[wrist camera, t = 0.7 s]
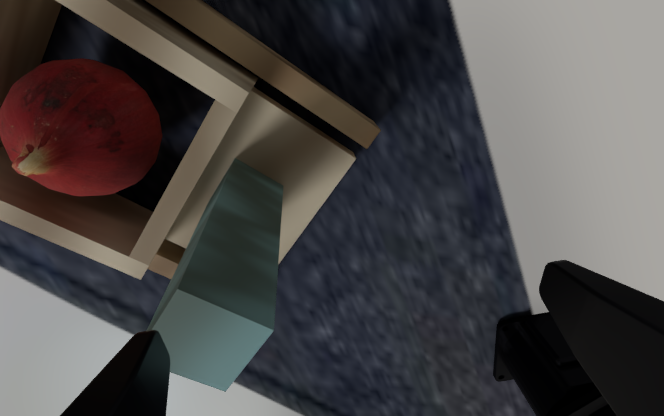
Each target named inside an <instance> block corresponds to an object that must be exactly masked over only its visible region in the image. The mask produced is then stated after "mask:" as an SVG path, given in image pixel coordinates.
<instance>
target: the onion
mask: <svg viewBox="0 0 664 416" xmlns="http://www.w3.org/2000/svg"><path fill="white" fill-rule="evenodd" d="M0 137H1V141H2V143H3V145H4V147H5V149H6V152H7V154H8V156H9V158H10V160H11V161H12V162H13V164H12V167H13V169H14V170H15V171H16V172H17V173H19V174H21V175H24V176H27V177H29V178H31V179H33V180H34V181H36V182H38V183H40V184H41V185H43V186H45V187H47V188H48V189H51V190H55V191H58V192H62V193H66V194H69V195H73V196H99V195H109V194H114V193H116V192H118V191H120V190H123V189H125V188H127V187H129V186H131V185H134V184H136V183H137V182H138V181H140V180H141V179H143V177H144V176H145V175H146V173H147V172H148V171H149V170H150V168H151V167H152V166H153V164H154V163H155V162H156V159H157V156H158V152H159V148H160V144H161V140H162V130H161V124H160V118H159V114H158V112H157V110H156V109H155V107H154V105H153V103H152V101H151V100H150V98H149V96H148V94H147V93H146V91H145V90H144V89H143V88H142V87H140V86H139V85H138V84H137V83H136V82H135V81H134V80H133V79H131V78H130V77H129V76H128V75H127V74H126V73H125V72H124V71H122V70H119V69H117V68H114V67H111V66H109V65H106V64H103V63H100V62H98V61H95V60H89V59H68V60H52V61H49V62H46V63H43V64H40V65H39V66H37V67H36V68H35V69H33V70H32V71H30V72H29V73H27V74H26V75H24V76H23V77H21V78H20V79H19V80H17V81H16V82H15V83H14V84H13V85H12V87H11V88H10V90H9V92H8V94H7V96H6V98H5V100H4V102H3V104H2V106H1V108H0Z"/></svg>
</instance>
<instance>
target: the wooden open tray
mask: <svg viewBox="0 0 664 416" xmlns="http://www.w3.org/2000/svg"><path fill="white" fill-rule="evenodd" d="M62 5H64V6H65V7H67V8H69V9H70V10H72V11H73V12H75V13H77V14H78V15H80V16H81V17H83V18H85V19H86V20H88V21H89V22H91V23H93V24H94V25H96V26H98V27H99V28H101V29H102V30H104V31H106V32H107V33H109V34H110V35H112V36H114V37H115V38H117V39H118V40H120V41H122V42H123V43H125V44H126V45H128V46H130V47H131V48H133V49H135V50H136V51H138V52H139V53H141V54H143V55H144V56H146V57H147V58H149V59H151V60H152V61H154V62H155V63H157V64H159V65H160V66H162V67H163V68H165V69H167V70H168V71H170V72H172V73H173V74H175V75H176V76H178V77H180V78H181V79H183V80H184V81H186V82H188V83H189V84H191V85H192V86H194V87H196V88H197V89H199V90H200V91H202V92H204V93H205V94H207V95H209V96H210V97H212V98H213V99H215V101H214V103H213V105H212V107H211V108H210V110H209V112H208V114H207V116H206V117H205V119H204V121H203V123H202V125H201V127H200V128H199V130H198V132H197V134H196V136H195V137H194V139H193V141H192V143H191V145H190V147H189V148H188V150H187V152H186V154H185V156H184V157H183V159H182V161H181V163H180V165H179V167H178V168H177V170H176V172H175V174H174V176H173V177H172V179H171V181H170V183H169V185H168V187H167V188H166V190H165V192H164V194H163V196H162V197H161V199H160V201H159V203H158V205H157V207H156V208H155V210H154V212H152V211H150V210H148V209H146V208H144V207H142V206H140V205H138V204H136V203H134V202H132V201H130V200H128V199H126V198H124V197H122V196H120V195H118V194H116V193H114V194H109V195H99V196H73V195H69V194H66V193H62V192H58V191H55V190H51V189H48V188H47V187H45V186H43V185H41V184H40V183H38V182H36V181H34V180H33V179H31V178H29V177H27V176H24V175H21V174H19V173H17V172H16V171H15V170H14V169H13V167H12V164H13V162H12V161H11V160H10V158H9V156H8V154H7V152H6V149H5V147H4V145H3V143H2V141H1V137H0V220H1V221H4V222H6V223H8V224H11V225H13V226H16V227H18V228H20V229H23V230H25V231H27V232H30V233H32V234H34V235H37V236H39V237H41V238H44V239H46V240H48V241H51V242H53V243H56V244H58V245H60V246H63V247H65V248H67V249H70V250H72V251H74V252H77V253H79V254H81V255H84V256H86V257H88V258H91V259H93V260H96V261H98V262H100V263H103V264H105V265H107V266H110V267H112V268H114V269H117V270H119V271H121V272H124V273H126V274H128V275H131V276H133V277H135V278H138V279H140V280H141V278H142V277H143V275H144V273H145V272H146V270H147V268H148V267H149V265H150V263H151V262H152V260H153V258H154V257H155V255H156V253H157V251H158V250H159V248H160V246H161V245H162V243H163V241H164V240H165V239H167V240H169V241H171V242H173V243H175V244H177V245H179V246H182V247H184V248H186V250H185V252H184V254H183V256H182V258H181V260H180V262H179V264H178V266H177V269H176V271H175V273H174V275H173V277H172V279H171V281H170V283H169V285H168V287H167V289H166V291H165V294H164V296H163V298H162V300H161V302H160V304H159V306H158V308H157V310H156V312H155V314H154V317H153V319H152V321H151V323H150V325H149V327H148V329H147V331H149V330H157V331H158V332H159V333H160V335H161V337H162V339H163V341H164V344H165V346H166V348H167V350H168V352H169V355H170V372H171V373H174V374H177V375H180V376H183V377H186V378H188V379H191V380H194V381H197V382H200V383H203V384H205V385H208V386H211V387H214V388H217V389H219V390H222V391H226V390H227V389H228V388H229V386H230V385H231V384H232V383H233V381H234V380H235V379H236V378H237V376H238V375H239V374H240V373H241V371H242V370H243V369H244V368H245V366H246V365H247V364H248V362H249V361H250V360H251V359H252V357H253V356H254V355H255V354H256V352H257V351H258V350H259V349H260V347H261V346H262V345H263V344H264V342H265V341H266V340H267V338H268V337H269V336H270V335H271V333H272V332H273V331H274V321H275V306H276V291H277V276H278V265H279V263H280V262H281V260H282V259H283V258H284V256H285V255H286V254H287V252H288V251H289V250H290V248H291V247H292V245H293V244H294V243H295V241H296V240H297V239H298V237H299V236H300V235H301V233H302V232H303V231H304V229H305V228H306V226H307V225H308V224H309V222H310V221H311V220H312V218H313V217H314V216H315V214H316V213H317V211H318V210H319V209H320V207H321V206H322V205H323V203H324V202H325V201H326V199H327V198H328V196H329V195H330V194H331V192H332V191H333V190H334V188H335V187H336V186H337V184H338V183H339V182H340V180H341V179H342V177H343V176H344V175H345V173H346V172H347V171H348V169H349V168H350V167H351V165H352V164H353V162H354V161H355V160H356V157H355V155H354V153H353V152H352V151H351V150H349V149H348V148H346V147H345V146H343V145H342V144H340V143H339V142H337V141H335V140H334V139H332V138H331V137H329V136H328V135H326V134H325V133H323V132H322V131H320V130H319V129H317V128H316V127H314V126H313V125H311V124H310V123H308V122H307V121H305V120H304V119H302V118H300V117H299V116H297V115H296V114H294V113H293V112H291V111H290V110H288V109H287V108H285V107H284V106H282V105H281V104H279V103H278V102H276V101H275V100H273V99H272V98H270V97H269V96H267V95H265V94H264V93H262V92H261V91H259V90H258V89H256V88H255V87H254V85H255V83H256V82H257V80H258V78H257V77H256V76H254V75H253V74H251V73H250V72H248V71H247V70H245V69H244V68H242V67H241V66H239V65H238V64H236V63H235V62H233V61H232V60H230V59H229V58H227V57H226V56H224V55H223V54H221V53H220V52H218V51H217V50H215V49H214V48H212V47H211V46H209V45H208V44H206V43H205V42H203V41H202V40H200V39H199V38H197V37H196V36H194V35H193V34H191V33H190V32H188V31H187V30H185V29H184V28H182V27H181V26H179V25H178V24H176V23H175V22H173V21H172V20H170V19H169V18H167V17H166V16H164V15H163V14H161V13H160V12H158V11H157V10H155V9H154V8H152V7H151V6H149V5H148V4H146V3H145V2H143V1H142V0H0V108H1V106H2V104H3V102H4V100H5V98H6V96H7V94H8V92H9V90H10V88H11V87H12V85H13V84H14V83H15V82H16V81H17V80H19V79H20V78H21V77H23V76H24V75H26V74H27V73H29V72H30V71H32V70H33V69H35V68H36V67H37V66H39V65H40V64H41V61H42V59H43V56H44V53H45V50H46V48H47V45H48V42H49V39H50V37H51V34H52V31H53V28H54V26H55V23H56V20H57V17H58V15H59V12H60V9H61V6H62Z"/></svg>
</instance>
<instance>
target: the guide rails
mask: <svg viewBox="0 0 664 416" xmlns="http://www.w3.org/2000/svg"><path fill="white" fill-rule="evenodd" d="M145 1H147V2H148V3H150V4H151V5H153V6H154V7H156V8H157V9H159V10H160V11H162V12H163V13H165V14H166V15H168V16H169V17H171V18H172V19H174V20H175V21H177V22H178V23H180V24H181V25H183V26H184V27H186V28H187V29H189V30H190V31H192V32H193V33H195V34H196V35H198V36H199V37H201V38H202V39H204V40H205V41H207V42H208V43H210V44H211V45H213V46H214V47H216V48H217V49H218V50H220V51H221V52H223V53H224V54H226V55H227V56H229V57H230V58H232V59H233V60H235V61H236V62H238V63H239V64H241V65H242V66H244V67H245V68H247V69H248V70H250V71H251V72H253V73H254V74H256V75H257V76H259V77H260V78H262V79H263V80H265V81H266V82H268V83H269V84H271V85H272V86H274V87H275V88H277V89H278V90H280V91H281V92H283V93H284V94H286V95H287V96H289V97H290V98H292V99H293V100H295V101H296V102H298V103H299V104H301V105H302V106H304V107H305V108H307V109H308V110H310V111H311V112H312V113H314V114H315V115H317V116H318V117H320V118H321V119H323V120H324V121H326V122H327V123H329V124H330V125H332V126H333V127H335V128H336V129H338V130H339V131H341V132H342V133H344V134H345V135H347V136H348V137H350V138H351V139H353V140H354V141H356V142H357V143H359V144H360V145H362V146H363V147H365V148H366V149H367V148H368V147H369V146H370V144H371V143H372V142H373V140H374V139H375V138H376V136H377V135H378V133H379V132H380V131H381V130H380V129H379V128H378V126H377V125H376V124H375V123H374V121H372V120H371V119H370V118H368V117H367V116H365V115H364V114H362V113H361V112H360V111H358V110H357V109H355V108H354V107H353V106H351V105H350V104H348V103H347V102H345V101H344V100H343V99H341V98H340V97H338V96H337V95H336V94H334V93H333V92H331V91H330V90H328V89H327V88H326V87H324V86H323V85H321V84H320V83H318V82H317V81H316V80H314V79H313V78H311V77H310V76H309V75H307V74H306V73H304V72H303V71H301V70H300V69H299V68H297V67H296V66H294V65H293V64H292V63H290V62H289V61H287V60H286V59H284V58H283V57H282V56H280V55H279V54H277V53H276V52H275V51H273V50H272V49H270V48H269V47H267V46H266V45H265V44H263V43H262V42H260V41H259V40H258V39H256V38H255V37H253V36H252V35H250V34H249V33H248V32H246V31H245V30H243V29H242V28H240V27H239V26H238V25H236V24H235V23H233V22H232V21H231V20H229V19H228V18H226V17H225V16H223V15H222V14H221V13H219V12H218V11H216V10H215V9H214V8H212V7H211V6H209V5H208V4H206V3H205V2H204V1H202V0H145ZM185 250H186V248H184V247H182V246H179V245H177V244H175V243H173V242H171V241H169V240H167V239H165V240H164V241H163V243H162V245H161V246H160V248H159V250H158V251H157V253H156V255H155V257H154V258H153V260H152V262H151V263H150V265H149V267H148V268H147V269H149V270H151V271H154V272H156V273H158V274H160V275H163V276H165V277H167V278H170V279H172V277H173V275H174V273H175V271H176V269H177V266H178V264H179V262H180V260H181V258H182V256H183V254H184V252H185Z"/></svg>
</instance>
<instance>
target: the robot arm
mask: <svg viewBox="0 0 664 416" xmlns="http://www.w3.org/2000/svg"><path fill="white" fill-rule="evenodd" d="M539 293H540V296H541V298H542V300H543V302H544V304H545V306H546V307H547V309H548V311H549V312H547V313H541V314H536V315H530V316H524V317H519V318H513V319H507V320H502V321H500V322H499V323H498V324H497V330H496V343H495V356H494V370H493V376H494V378H495V379H496V381H506V380H511V379H514V380H515V382H516V383H517V385H518V387H519V388H520V390H521V392H522V393H523V395H524V396H525V398H526V400H527V401H528V403H529V405H530V406H531V408H532V409H533V411H534V413H535V414H536V416H664V301H661V300H659V299H657V298H654V297H652V296H649V295H647V294H645V293H642V292H640V291H638V290H635V289H633V288H631V287H628V286H626V285H624V284H621V283H619V282H617V281H614V280H612V279H609V278H607V277H605V276H602V275H600V274H598V273H595V272H593V271H591V270H588V269H586V268H584V267H581V266H579V265H576V264H574V263H572V262H569V261H567V260H560V261H554V262H550V263H548V264H547V265H546V266H545V269H544V272H543V276H542V280H541V283H540V286H539ZM169 374H170V355H169V352H168V350H167V348H166V346H165V344H164V341H163V339H162V337H161V335H160V333H159V332H158V331H157V330H149V331H144V332H139V333H137V334H135V335H134V336H133V337H132V338H131V339H130V340H129V341H128V342H127V343H126V345H125V346H124V347H123V348H122V349H121V350H120V351H119V352H118V353H117V354H116V355H115V356H114V358H113V359H112V360H111V361H110V362H109V363H108V364H107V365H106V366H105V367H104V368H103V370H102V371H101V372H100V373H99V374H98V375H97V376H96V377H95V378H94V379H93V380H92V381H91V383H90V384H89V385H88V386H87V387H86V388H85V389H84V390H83V391H82V393H80V395H79V396H78V397H77V398H76V399H75V400H74V401H73V402H72V403H71V404H70V406H69V407H68V408H67V409H66V410H65V411H64V412H63V413H62V414H61V415H60V416H166V406H167V395H168V385H169Z"/></svg>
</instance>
